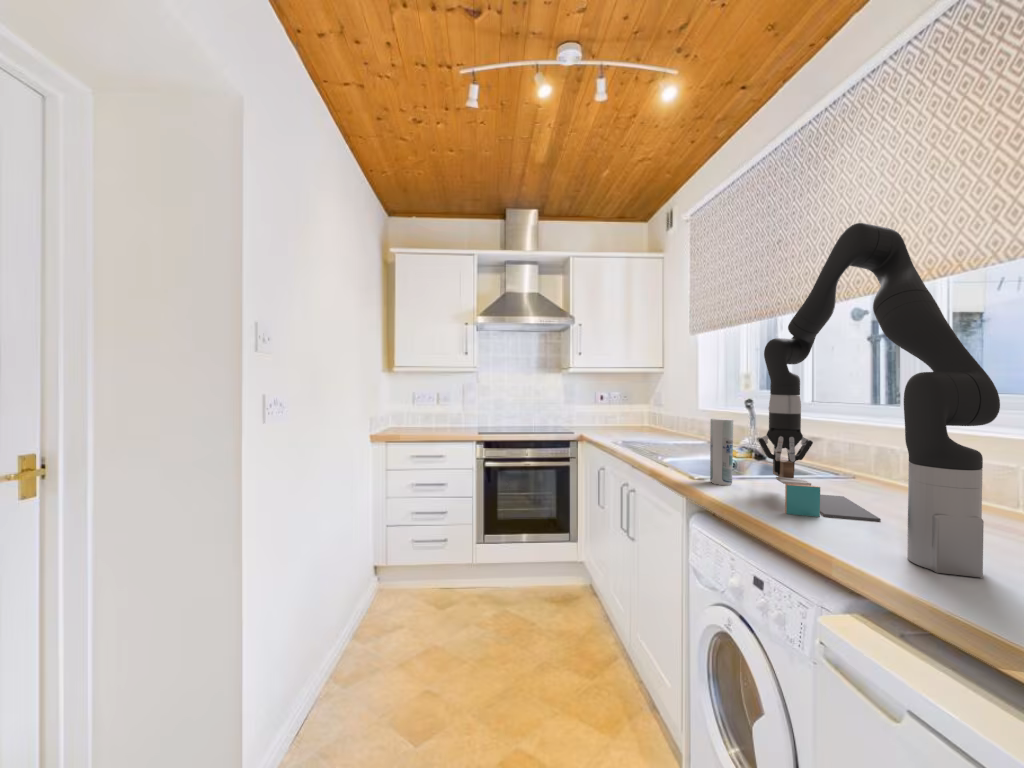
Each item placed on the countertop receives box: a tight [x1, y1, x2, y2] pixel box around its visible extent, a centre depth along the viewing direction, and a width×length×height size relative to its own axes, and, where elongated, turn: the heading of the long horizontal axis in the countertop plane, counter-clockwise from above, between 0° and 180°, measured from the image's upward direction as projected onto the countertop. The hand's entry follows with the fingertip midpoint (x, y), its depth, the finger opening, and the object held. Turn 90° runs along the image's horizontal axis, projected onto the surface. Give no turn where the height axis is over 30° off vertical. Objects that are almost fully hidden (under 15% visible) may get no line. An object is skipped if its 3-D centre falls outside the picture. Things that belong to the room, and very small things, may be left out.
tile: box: [784, 484, 821, 518], centre depth 108 cm, size 1×7×7 cm, turn 72°
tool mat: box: [820, 494, 882, 522], centre depth 116 cm, size 22×11×1 cm, turn 162°
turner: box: [772, 457, 812, 486], centre depth 122 cm, size 20×6×4 cm, turn 162°
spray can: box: [709, 417, 734, 486], centre depth 142 cm, size 6×6×20 cm
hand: (783, 474), depth 125 cm, fingers closed on turner, 2 cm apart
